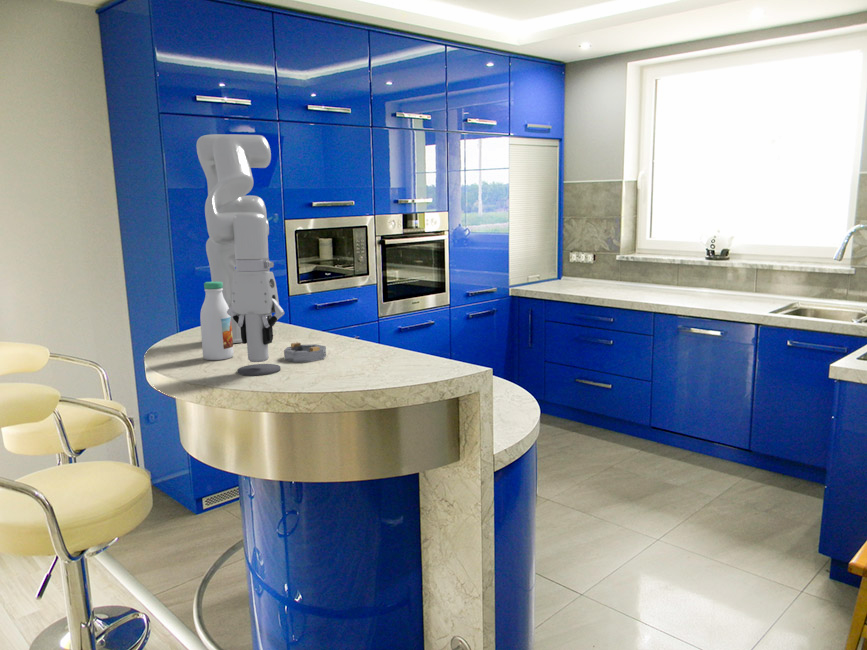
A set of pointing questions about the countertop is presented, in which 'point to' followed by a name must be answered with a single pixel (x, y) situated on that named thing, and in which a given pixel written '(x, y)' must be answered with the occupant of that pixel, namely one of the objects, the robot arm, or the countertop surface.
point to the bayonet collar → (304, 352)
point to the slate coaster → (258, 369)
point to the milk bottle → (215, 324)
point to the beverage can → (255, 338)
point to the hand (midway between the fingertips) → (257, 342)
